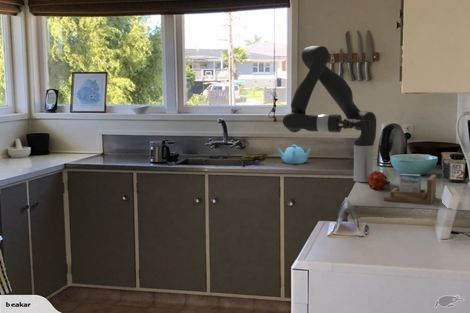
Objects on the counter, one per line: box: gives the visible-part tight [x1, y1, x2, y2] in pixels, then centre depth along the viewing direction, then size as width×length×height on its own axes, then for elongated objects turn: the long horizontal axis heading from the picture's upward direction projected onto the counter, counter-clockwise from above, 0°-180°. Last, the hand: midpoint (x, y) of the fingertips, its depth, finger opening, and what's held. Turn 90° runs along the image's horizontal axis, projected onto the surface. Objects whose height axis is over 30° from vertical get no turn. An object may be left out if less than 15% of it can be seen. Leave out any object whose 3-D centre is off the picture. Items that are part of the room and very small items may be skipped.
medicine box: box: [398, 173, 422, 193], centre depth 245 cm, size 8×4×9 cm, turn 67°
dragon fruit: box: [366, 170, 391, 191], centre depth 270 cm, size 8×8×12 cm
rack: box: [383, 174, 437, 205], centre depth 245 cm, size 14×18×10 cm
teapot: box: [277, 144, 312, 165], centre depth 358 cm, size 15×15×11 cm
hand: (367, 124), depth 251 cm, fingers open, 8 cm apart
